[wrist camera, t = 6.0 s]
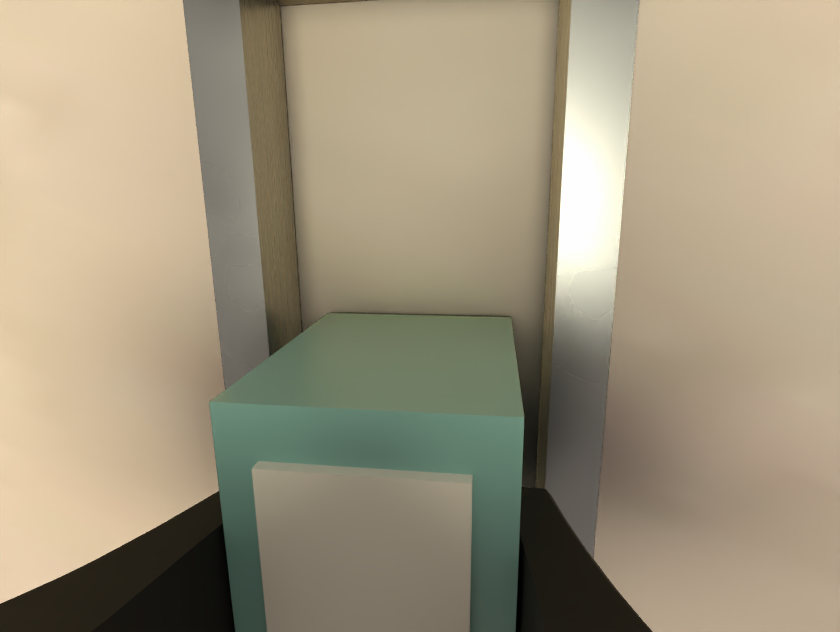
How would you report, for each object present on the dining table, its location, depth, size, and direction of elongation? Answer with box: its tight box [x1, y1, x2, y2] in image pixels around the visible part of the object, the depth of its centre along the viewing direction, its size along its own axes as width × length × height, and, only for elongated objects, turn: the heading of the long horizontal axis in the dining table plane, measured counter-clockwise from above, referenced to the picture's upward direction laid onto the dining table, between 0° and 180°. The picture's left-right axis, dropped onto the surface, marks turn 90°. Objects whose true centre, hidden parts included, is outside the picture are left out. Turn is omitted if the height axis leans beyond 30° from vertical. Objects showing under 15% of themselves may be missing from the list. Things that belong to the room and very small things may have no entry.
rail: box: [183, 0, 639, 558], centre depth 10 cm, size 15×7×3 cm, turn 1°
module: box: [209, 313, 524, 632], centre depth 9 cm, size 6×4×5 cm, turn 1°
